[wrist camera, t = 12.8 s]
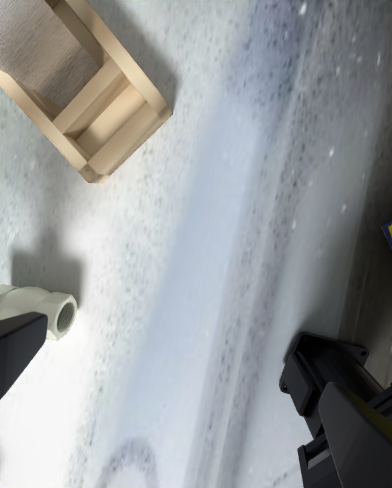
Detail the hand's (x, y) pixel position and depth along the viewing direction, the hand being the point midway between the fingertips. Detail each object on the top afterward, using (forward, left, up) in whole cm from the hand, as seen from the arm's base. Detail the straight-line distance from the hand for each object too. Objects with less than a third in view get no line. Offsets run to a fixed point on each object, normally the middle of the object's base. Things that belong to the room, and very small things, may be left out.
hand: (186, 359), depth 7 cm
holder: (+12, -10, -13) cm, 20 cm away
